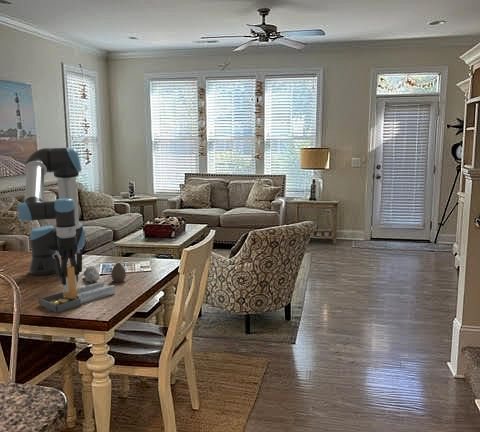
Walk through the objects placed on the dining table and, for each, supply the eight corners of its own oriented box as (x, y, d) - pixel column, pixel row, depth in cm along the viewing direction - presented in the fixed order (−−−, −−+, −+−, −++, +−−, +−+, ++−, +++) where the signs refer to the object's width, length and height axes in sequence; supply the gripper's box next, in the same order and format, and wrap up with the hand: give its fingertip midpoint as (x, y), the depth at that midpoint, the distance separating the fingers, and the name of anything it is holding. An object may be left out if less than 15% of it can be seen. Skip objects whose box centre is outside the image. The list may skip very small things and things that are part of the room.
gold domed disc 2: (57, 304, 196) (56, 299, 196) (65, 301, 200) (65, 296, 199) (62, 306, 194) (62, 301, 194) (71, 303, 197) (70, 298, 197)
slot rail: (66, 299, 203) (65, 291, 203) (102, 288, 217) (101, 281, 216) (78, 304, 197) (78, 296, 196) (115, 293, 210) (114, 285, 210)
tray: (39, 305, 196) (38, 298, 196) (63, 298, 204) (62, 291, 204) (56, 313, 187) (56, 306, 187) (81, 305, 195) (80, 298, 195)
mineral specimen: (103, 284, 224) (102, 270, 223) (87, 286, 221) (86, 272, 220) (98, 275, 238) (97, 262, 237) (83, 277, 235) (82, 264, 234)
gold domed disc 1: (47, 306, 194) (47, 301, 193) (57, 303, 197) (56, 299, 196) (52, 308, 191) (52, 303, 191) (61, 306, 194) (61, 301, 194)
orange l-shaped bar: (64, 296, 200) (62, 266, 198) (70, 294, 202) (68, 264, 200) (71, 298, 196) (69, 268, 194) (77, 296, 199) (75, 267, 196)
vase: (113, 278, 232) (112, 261, 230) (127, 278, 232) (127, 261, 230) (109, 283, 225) (108, 265, 224) (124, 283, 225) (123, 265, 223)
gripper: (52, 240, 186) (57, 297, 190) (89, 234, 198) (92, 287, 202) (43, 238, 191) (47, 293, 195) (79, 231, 203) (82, 284, 207)
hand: (70, 290), depth 199 cm, fingers closed on orange l-shaped bar, 3 cm apart
